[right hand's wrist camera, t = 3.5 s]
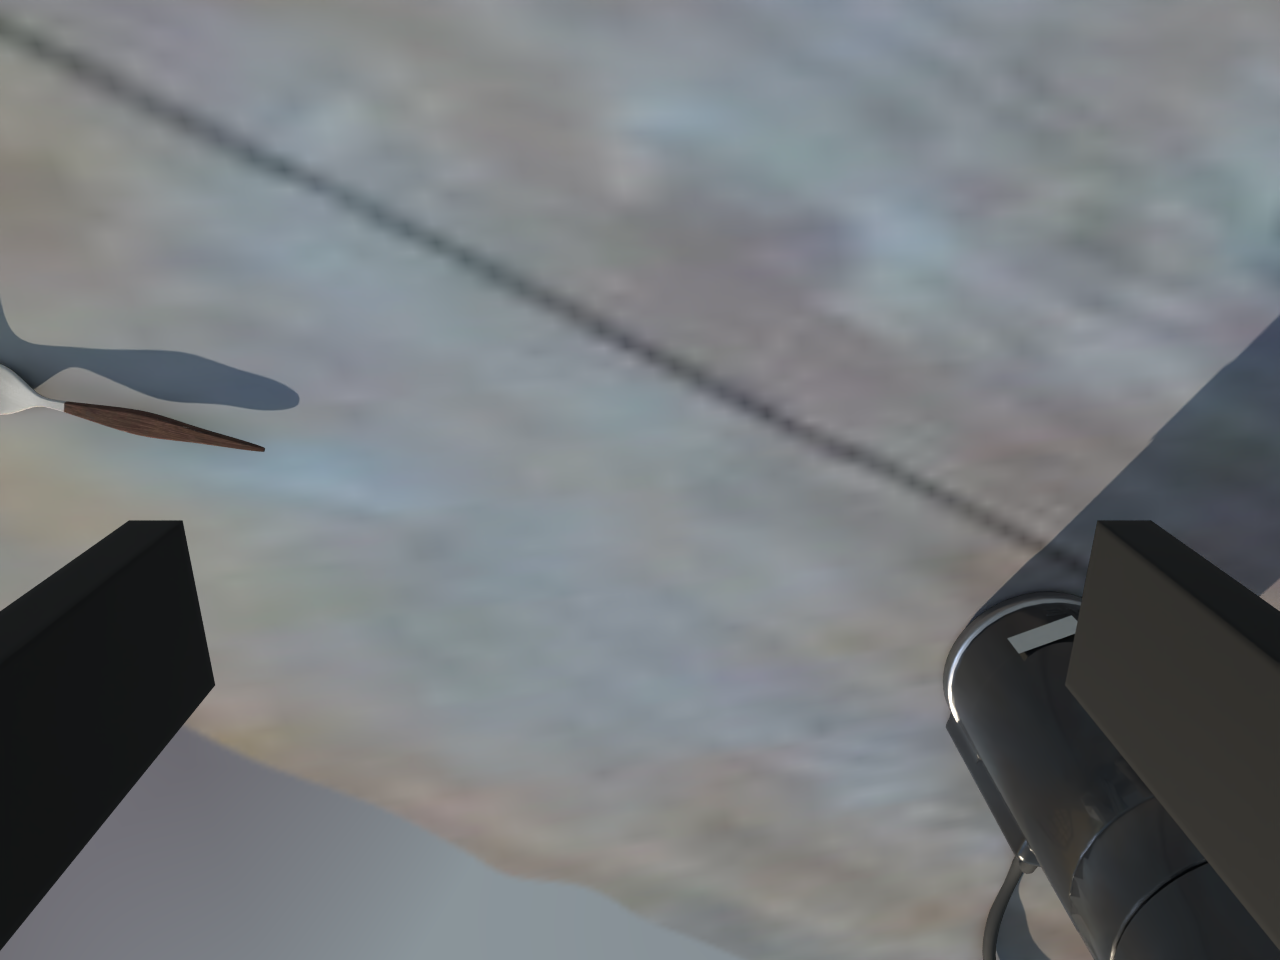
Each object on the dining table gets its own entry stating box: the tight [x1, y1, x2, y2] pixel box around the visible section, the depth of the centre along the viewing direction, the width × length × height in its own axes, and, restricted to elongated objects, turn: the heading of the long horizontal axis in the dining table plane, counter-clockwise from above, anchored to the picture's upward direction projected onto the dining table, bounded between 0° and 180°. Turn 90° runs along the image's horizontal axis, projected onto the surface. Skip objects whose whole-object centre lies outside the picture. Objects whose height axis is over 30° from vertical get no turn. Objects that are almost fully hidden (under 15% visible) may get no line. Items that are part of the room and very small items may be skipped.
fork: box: [0, 364, 265, 452], centre depth 39 cm, size 3×16×2 cm, turn 77°
